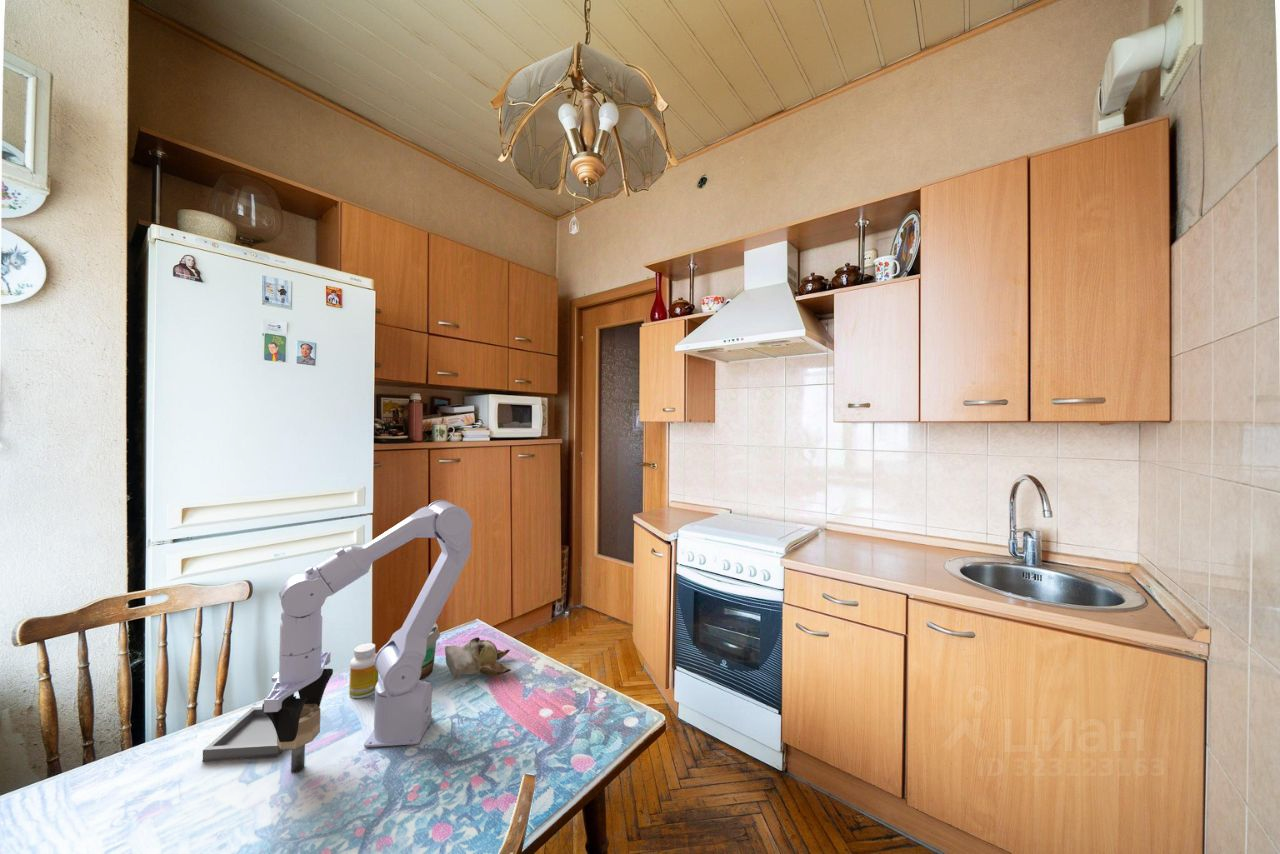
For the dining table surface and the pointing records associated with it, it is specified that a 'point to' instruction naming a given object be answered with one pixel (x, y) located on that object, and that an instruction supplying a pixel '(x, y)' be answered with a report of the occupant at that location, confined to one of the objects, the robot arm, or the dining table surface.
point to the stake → (297, 759)
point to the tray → (245, 739)
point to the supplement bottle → (363, 671)
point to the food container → (430, 653)
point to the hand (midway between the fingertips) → (299, 727)
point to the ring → (305, 727)
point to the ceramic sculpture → (475, 659)
